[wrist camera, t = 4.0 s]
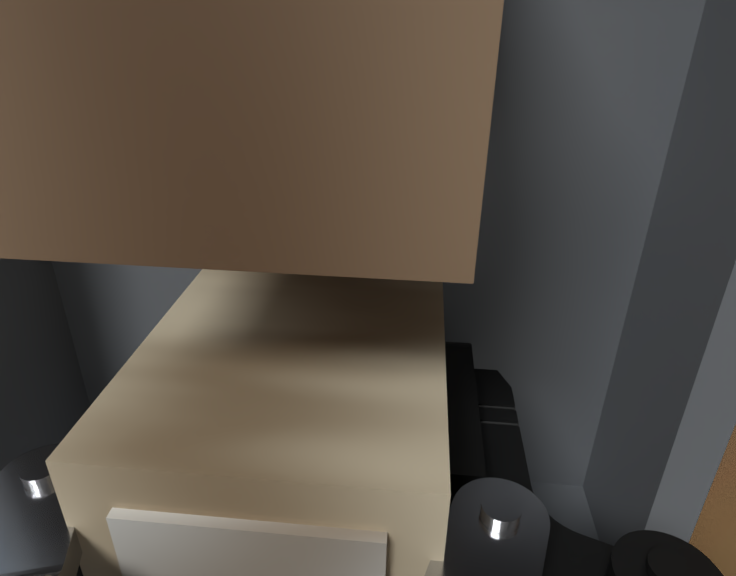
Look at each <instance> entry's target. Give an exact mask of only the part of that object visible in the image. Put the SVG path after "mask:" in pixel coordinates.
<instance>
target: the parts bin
mask: <svg viewBox="0 0 736 576" xmlns="http://www.w3.org/2000/svg"><path fill="white" fill-rule="evenodd" d="M201 270H202V269H190V268H172V267H153V266H135V265H116V264H98V263H79V262H61V261H42V260H23V259H5V258H0V471H1V470H2V469H3V468H4V467H5V466H6V465H7V464H9V463H10V462H11V461H13V460H14V459H16V458H17V457H19V456H20V455H22V454H24V453H26V452H28V451H30V450H33V449H36V448H38V447H42V446H45V445H50V444H57V443H60V442H61V441H62V440H63V439H64V437H65V436H66V435H67V434H68V433H69V431H70V430H71V429H72V428H73V426H74V425H75V424H76V423H77V422H78V420H79V419H80V418H81V417H82V415H83V414H84V413H85V412H86V411H87V409H88V408H89V407H90V406H91V404H92V403H93V402H94V401H95V400H96V398H97V397H98V396H99V395H100V393H101V392H102V391H103V390H104V389H105V387H106V386H107V385H108V384H109V382H110V381H111V380H112V379H113V378H114V376H115V375H116V374H117V373H118V371H119V370H120V369H121V368H122V367H123V365H124V364H125V363H126V362H127V361H128V359H129V358H130V357H131V356H132V354H133V353H134V352H135V351H136V350H137V348H138V347H139V346H140V345H141V343H142V342H143V341H144V340H145V339H146V337H147V336H148V335H149V334H150V332H151V331H152V330H153V329H154V328H155V326H156V325H157V324H158V323H159V321H160V320H161V319H162V318H163V317H164V315H165V314H166V313H167V312H168V310H169V309H170V308H171V307H172V306H173V304H174V303H175V302H176V301H177V299H178V298H179V297H180V296H181V295H182V293H183V292H184V291H185V290H186V288H187V287H188V286H189V285H190V284H191V282H192V281H193V280H194V279H195V277H196V276H197V275H198V274H199V273H200V271H201ZM443 305H444V331H445V342H461V343H471V345H472V353H473V362H474V369H488V370H498V372H499V373H500V374H501V375H502V376H503V378H504V379H505V380H506V381H507V382H508V384H509V385H510V386H511V387H512V392H513V397H514V402H515V410H516V412H517V417H518V422H519V423H518V426H519V427H520V432H521V437H522V442H523V447H524V452H525V457H526V462H527V467H528V472H529V477H530V482H531V487H532V490H533V493H534V494H535V495H536V496H537V497H538V498H539V499H540V501H541V502H542V503H543V505H544V506H545V508H546V510H547V512H548V514H549V515H550V516H551V517H552V518H553V519H554V520H556V521H557V522H559V523H560V524H562V525H563V526H565V527H567V528H569V529H570V530H572V531H575V532H577V533H579V534H582V535H585V536H588V537H590V538H593V539H596V540H599V541H602V542H604V543H607V544H610V545H613V546H614V545H615V543H616V542H617V541H618V539H620V538H621V537H622V536H623V535H625V534H627V533H629V532H633V531H638V530H654V531H659V532H664V533H667V534H670V535H673V536H675V537H677V538H680V539H682V540H684V541H686V542H687V543H689V540H690V538H691V535H692V533H693V530H694V527H695V525H696V522H697V520H698V517H699V515H700V512H701V510H702V507H703V505H704V502H705V500H706V497H707V495H708V492H709V490H710V487H711V485H712V482H713V479H714V477H715V474H716V472H717V469H718V467H719V464H720V462H721V459H722V457H723V454H724V452H725V449H726V447H727V444H728V442H729V439H730V436H731V434H732V431H733V429H734V426H735V424H736V0H504V5H503V15H502V24H501V33H500V42H499V52H498V61H497V70H496V79H495V89H494V98H493V107H492V116H491V126H490V135H489V144H488V153H487V163H486V172H485V181H484V190H483V200H482V209H481V218H480V227H479V237H478V246H477V255H476V264H475V274H474V283H473V284H468V283H449V282H443Z"/></svg>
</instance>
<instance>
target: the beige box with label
mask: <svg viewBox="0 0 736 576" xmlns="http://www.w3.org/2000/svg"><path fill="white" fill-rule="evenodd" d="M45 462H46V465H47V468H48V471H49V474H50V477H51V480H52V483H53V486H54V489H55V492H56V495H57V498H58V501H59V504H60V507H61V510H62V513H63V516H64V519H65V522H66V525H67V526H68V527H74V528H75V531H76V534H77V537H78V540H79V543H80V546H81V549H82V552H83V553H82V556H81V560H80V567H81V570H82V573H83V576H425V573H426V570H427V568H428V565H429V562H430V560H433V561H444V553H445V544H446V535H447V526H448V516H449V507H450V498H451V487H450V461H449V435H448V409H447V383H446V357H445V331H444V305H443V282H431V281H412V280H394V279H375V278H357V277H338V276H320V275H301V274H283V273H264V272H246V271H227V270H209V269H202V270H201V271H200V273H199V274H198V275H197V276H196V277H195V279H194V280H193V281H192V282H191V284H190V285H189V286H188V287H187V288H186V290H185V291H184V292H183V293H182V295H181V296H180V297H179V298H178V299H177V301H176V302H175V303H174V304H173V306H172V307H171V308H170V309H169V310H168V312H167V313H166V314H165V315H164V317H163V318H162V319H161V320H160V321H159V323H158V324H157V325H156V326H155V328H154V329H153V330H152V331H151V332H150V334H149V335H148V336H147V337H146V339H145V340H144V341H143V342H142V343H141V345H140V346H139V347H138V348H137V350H136V351H135V352H134V353H133V354H132V356H131V357H130V358H129V359H128V361H127V362H126V363H125V364H124V365H123V367H122V368H121V369H120V370H119V372H118V373H117V374H116V375H115V376H114V378H113V379H112V380H111V381H110V383H109V384H108V385H107V386H106V387H105V389H104V390H103V391H102V392H101V393H100V395H99V396H98V397H97V398H96V400H95V401H94V402H93V403H92V404H91V406H90V407H89V408H88V409H87V411H86V412H85V413H84V414H83V415H82V417H81V418H80V419H79V420H78V422H77V423H76V424H75V425H74V426H73V428H72V429H71V430H70V431H69V433H68V434H67V435H66V436H65V437H64V439H63V440H62V441H61V442H60V444H59V445H58V446H57V447H56V448H55V450H54V451H53V452H52V453H51V455H50V456H49V457H48V458H47V459H46V461H45Z"/></svg>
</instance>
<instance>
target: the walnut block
mask: <svg viewBox="0 0 736 576" xmlns="http://www.w3.org/2000/svg"><path fill="white" fill-rule="evenodd" d="M503 5H504V0H0V258H5V259H23V260H42V261H61V262H79V263H98V264H116V265H135V266H153V267H172V268H190V269H209V270H227V271H246V272H264V273H283V274H301V275H320V276H338V277H357V278H375V279H394V280H412V281H431V282H449V283H468V284H473V283H474V274H475V264H476V255H477V246H478V237H479V227H480V218H481V209H482V200H483V190H484V181H485V172H486V163H487V153H488V144H489V135H490V126H491V116H492V107H493V98H494V89H495V79H496V70H497V61H498V52H499V42H500V33H501V24H502V15H503Z"/></svg>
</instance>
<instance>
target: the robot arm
mask: <svg viewBox="0 0 736 576" xmlns="http://www.w3.org/2000/svg"><path fill="white" fill-rule="evenodd" d="M445 357H446V383H447V409H448V435H449V461H450V487H451V498H450V507H449V516H448V526H447V535H446V544H445V553H444V561H433V560H430V562H429V565H428V568H427V570H426V573H425V576H723V574H722V573H721V572H720V571H719V570H718V568H717V567H716V566H715V565H714V564H713V563H712V562H711V560H710V559H709V558H708V557H706V556H705V555H704V554H703V553H702V552H701V551H699V550H698V549H697V548H695V547H694V546H692V545H691V544H689V543H687V542H686V541H684V540H682V539H680V538H677V537H675V536H673V535H670V534H667V533H664V532H659V531H654V530H638V531H633V532H629V533H627V534H625V535H623V536H622V537H621V538H620V539H618V541H617V542H616V543H615V545H614V546H613V545H610V544H607V543H604V542H602V541H599V540H596V539H593V538H590V537H588V536H585V535H582V534H579V533H577V532H575V531H572V530H570V529H569V528H567V527H565V526H563V525H562V524H560V523H559V522H557V521H556V520H554V519H553V518H552V517H551V516H550V515H549V514H548V512H547V510H546V508H545V506H544V505H543V503H542V502H541V501H540V499H539V498H538V497H537V496H536V495H535V494H534V493H533V490H532V487H531V482H530V477H529V472H528V467H527V462H526V457H525V452H524V447H523V442H522V437H521V432H520V427H519V426H518V423H519V422H518V417H517V412H516V410H515V402H514V397H513V392H512V387H511V386H510V385H509V384H508V382H507V381H506V380H505V379H504V378H503V376H502V375H501V374H500V373H499V372H498V370H488V369H474V362H473V353H472V345H471V343H461V342H445ZM118 372H119V371H118ZM109 383H110V382H109ZM59 444H60V443H57V444H50V445H45V446H42V447H38V448H36V449H33V450H30V451H28V452H26V453H24V454H22V455H20V456H19V457H17V458H16V459H14V460H13V461H11V462H10V463H9V464H7V465H6V466H5V467H4V468H3V469H2V470H1V471H0V576H83V573H82V570H81V567H80V560H81V556H82V553H83V552H82V549H81V546H80V543H79V540H78V537H77V534H76V531H75V528H74V527H68V526H67V525H66V522H65V519H64V516H63V513H62V510H61V507H60V504H59V501H58V498H57V495H56V492H55V489H54V486H53V483H52V480H51V477H50V474H49V471H48V468H47V465H46V462H45V461H46V459H47V458H48V457H49V456H50V455H51V453H52V452H53V451H54V450H55V448H56V447H57V446H58V445H59Z"/></svg>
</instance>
